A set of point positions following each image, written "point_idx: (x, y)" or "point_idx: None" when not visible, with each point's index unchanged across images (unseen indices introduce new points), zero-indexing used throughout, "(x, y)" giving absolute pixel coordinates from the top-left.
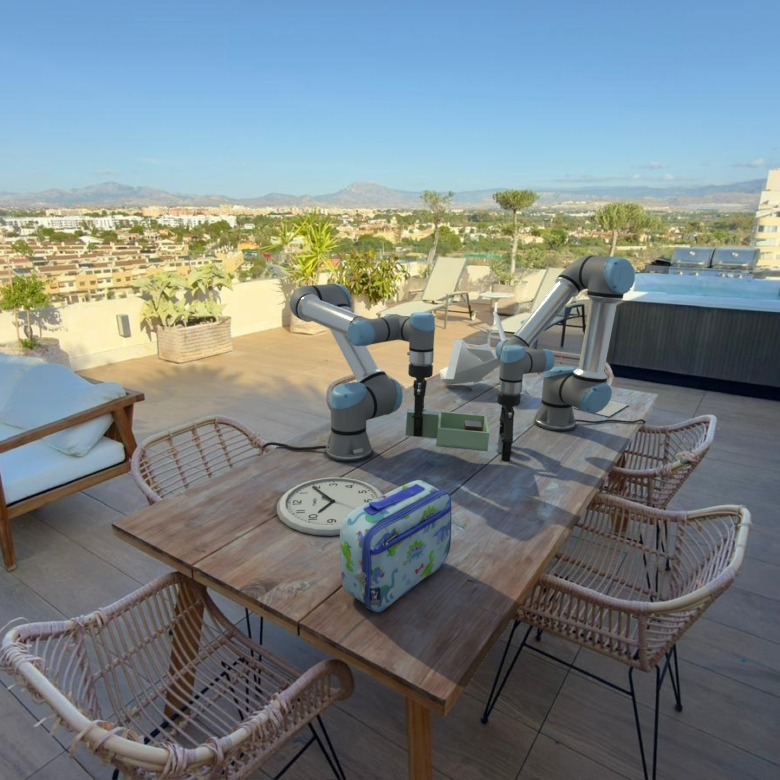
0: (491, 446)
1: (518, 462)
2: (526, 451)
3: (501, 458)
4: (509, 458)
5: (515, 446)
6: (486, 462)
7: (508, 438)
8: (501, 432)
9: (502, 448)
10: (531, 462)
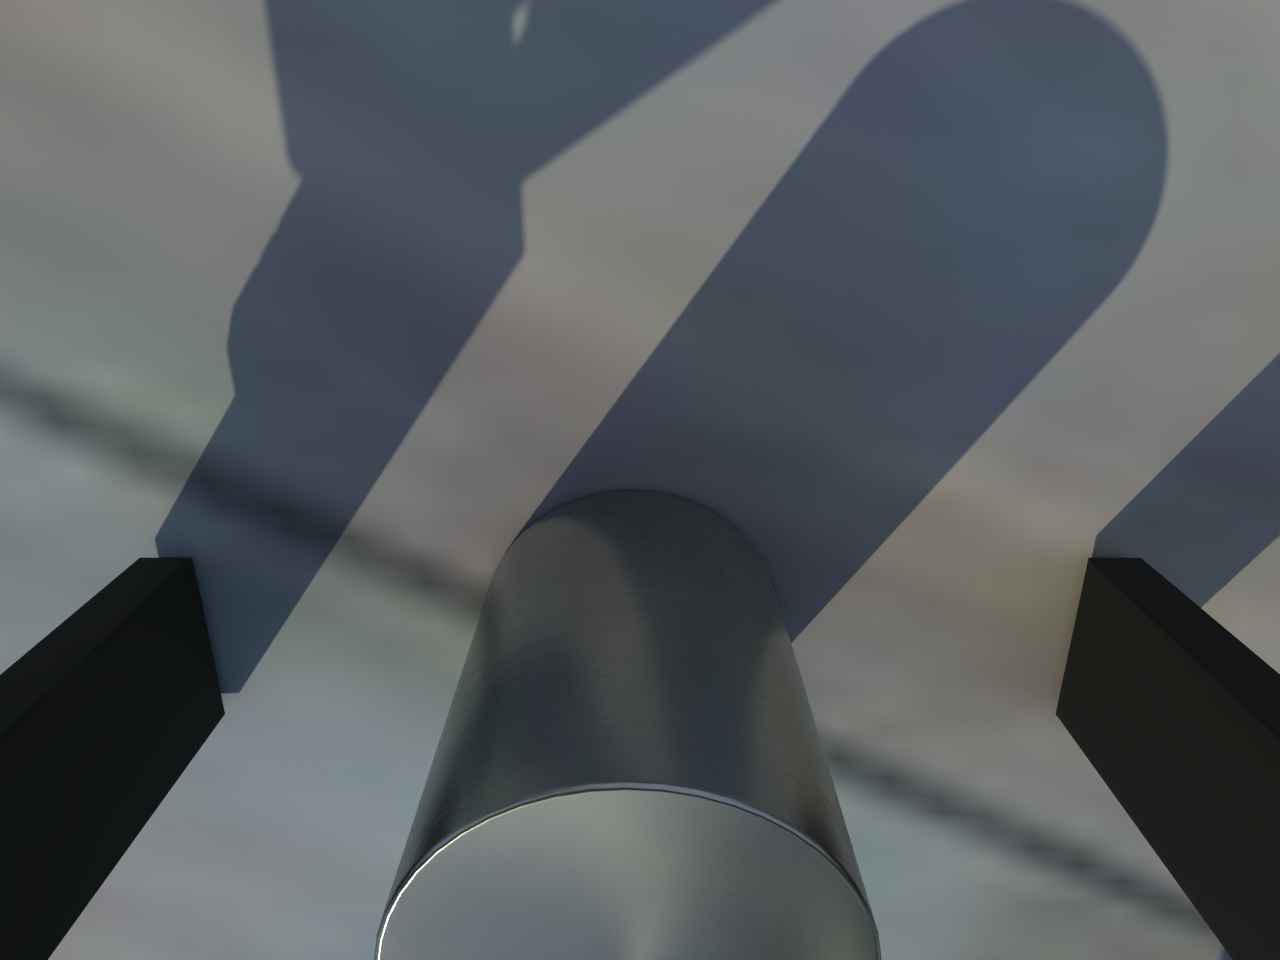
0: (396, 830)
1: (1220, 369)
2: (501, 60)
3: (1063, 720)
4: (1164, 594)
5: (229, 337)
6: (1166, 936)
7: (862, 900)
8: (28, 910)
9: (1229, 923)
10: (1254, 13)
